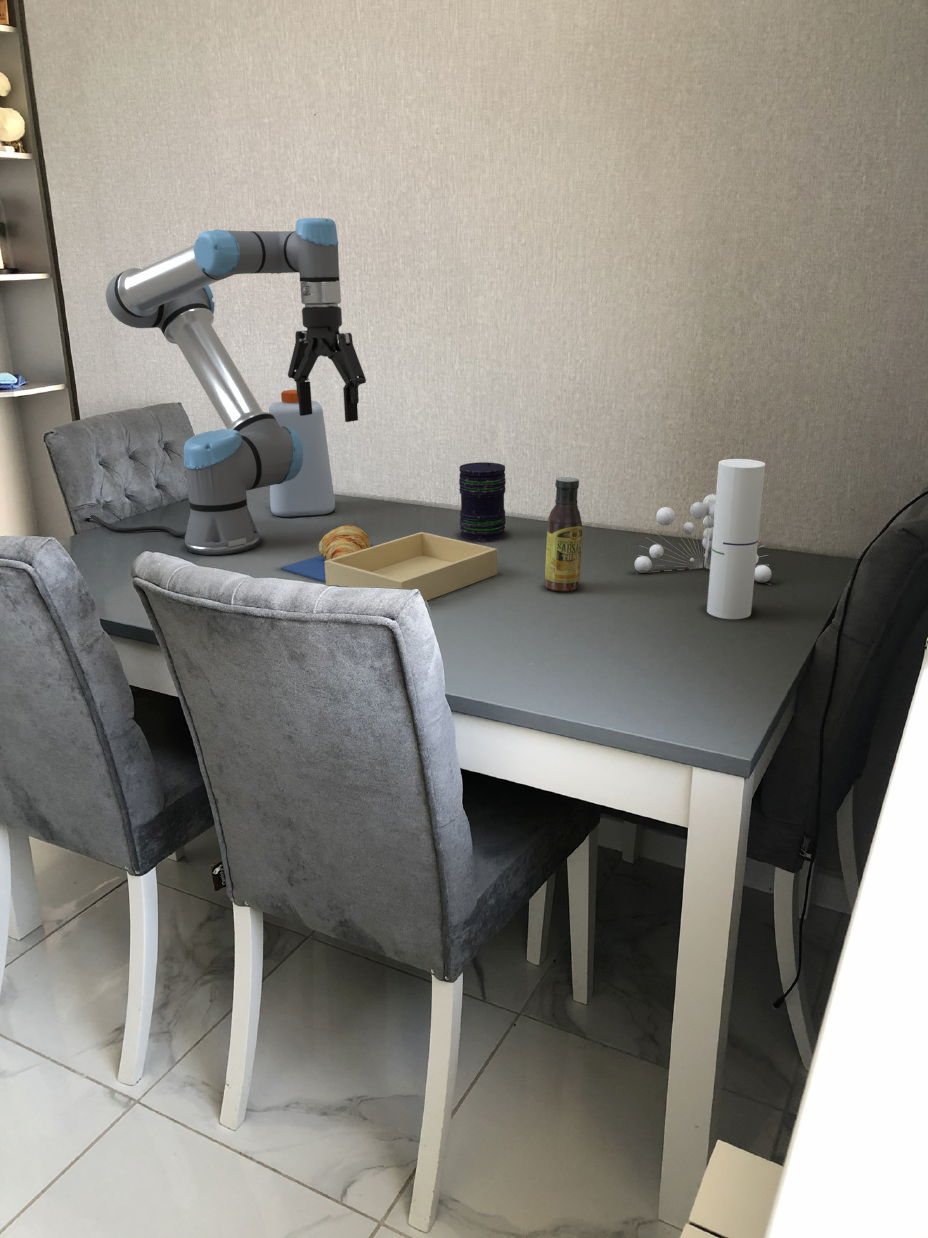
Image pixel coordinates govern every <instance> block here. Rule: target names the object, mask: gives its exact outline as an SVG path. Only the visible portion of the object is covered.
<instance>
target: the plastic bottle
mask: <svg viewBox="0 0 928 1238" xmlns="http://www.w3.org/2000/svg"><path fill="white" fill-rule="evenodd" d="M280 397H281V401H276V402H275V401H274V402H271V404H270V405H268V406H269V407H268V413H271V414H273V416H274V417H275V419H276V421H277V422H278V424H279V426H280V427H283V426H286V427H289V428H292V429H293V430H295V431H296V433H297V434H298V436H299V437H300V440H301V442H302V446H303V464H302V467H301V470H300V472H299V473H298V475H297V476H296V477H295V478H293V479H292V480H289V481H286V482H283V483H281V484H275V485H270V486H269V504H270V506H269V507H270V511H271V513H272V514H273V515H274V516H276V517H281V518H292V517H295V518H296V517H311V516H322V515H323V516H324V515H328V514H330V513H332V512H333V511H334V510H335V508H336V501H335V494H334V493H335V491H334V485H333V478H332V471H331V462H330V455H329V447H328V439H327V432H326V431H327V430H326V425H325V424H326V423H325V418H324V409H323V408H322V404H321V403H319V402H318V401H317V400H311V402H312V414H311V415H304V416H300V413H299V399H298V397H297V389H286V390H282V391H281V393H280Z"/></svg>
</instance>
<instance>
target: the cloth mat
mask: <svg viewBox="0 0 928 1238" xmlns="http://www.w3.org/2000/svg"><path fill="white" fill-rule="evenodd" d="M370 545H371V547H373V546H375V545H373V544H370ZM325 561H326V560H325V559H324V556H323V555H322V554H320V555H318V556H315V557H311V558H309V559H305V560H301V561H298V562H295V563H291V564H288V565H283V566H281V567H280V570H282V571H285V572H289V573H293V574H296V575H299V576H303V577H306V578H309V579H313V580H316V581H320V582H323V583H326V576H325Z"/></svg>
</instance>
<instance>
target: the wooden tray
mask: <svg viewBox="0 0 928 1238" xmlns="http://www.w3.org/2000/svg"><path fill="white" fill-rule="evenodd" d="M497 575H498V548H496V547H495V548H494V547H490V546H486V545H481V544H476V543H473V542H468V541H464V540H459V539H454V538H450V537H446V536H442V535H437V534H432V533H428V532H423V531H420V532H417V533H412V534H411V535H407V536H403V537H400V538H396V539H394V540H390V541H387V542H383V543H380V544H376V545H374V546H373V547H370V548H367V549H363V550H360V551H357V552H353V553H350V554H347V555H343V556H340V557H337V558H333V559H330V560H327V561H325V576H326V582H325V586H326V585H339V586H348V587H379V588H401V589H419V590H420V592H421V594H422V596H423V598H424V601H425V602H427V601H430V600H432V599H435V598H438V597H441V596H443V595H445V594H446V595H447V594H449V593H452V592H454V591H456V590H459V589H463V588H465V587H467V586H470V585H472V584H475V583H477V582H480V581H483V580H486V579H488V578H489V579H490V578H492V577H494V576H497Z"/></svg>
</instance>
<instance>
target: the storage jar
mask: <svg viewBox="0 0 928 1238" xmlns="http://www.w3.org/2000/svg"><path fill="white" fill-rule="evenodd" d="M458 469H459V479H458V484H459V489H458V490H459V494H460V511H459V517H460V518H459V527H460V531H461V532H460V538H461V539H462V540H465V541H470V542H477V543H479V542H480V543H483V542H484V543H485V542H486V543H487V542H494V541H500V540H502V539H504V538H505V537H506V532H505V530H506V522H507V521H506V519H507V517H506V510H505V493H506V483H507V481H506V480H507V478H506V465H505V464H502V463H497V462H487V461H485V462H484V461H483V462H479V461H478V462H469V463H464V464H461V465H460V466H459V468H458Z"/></svg>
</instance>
